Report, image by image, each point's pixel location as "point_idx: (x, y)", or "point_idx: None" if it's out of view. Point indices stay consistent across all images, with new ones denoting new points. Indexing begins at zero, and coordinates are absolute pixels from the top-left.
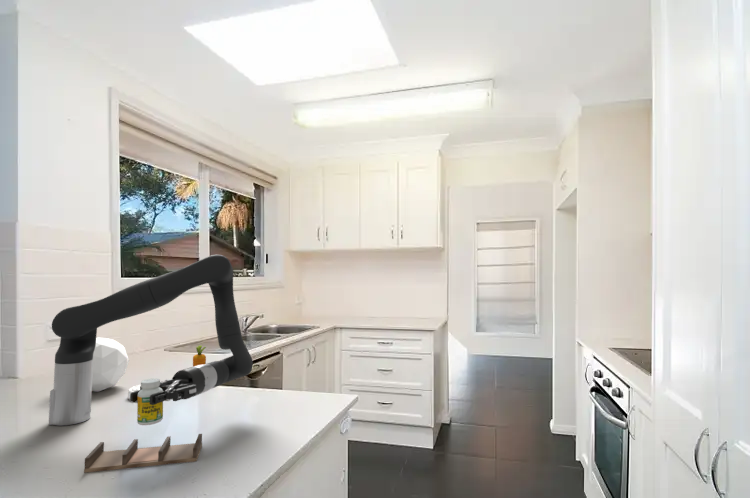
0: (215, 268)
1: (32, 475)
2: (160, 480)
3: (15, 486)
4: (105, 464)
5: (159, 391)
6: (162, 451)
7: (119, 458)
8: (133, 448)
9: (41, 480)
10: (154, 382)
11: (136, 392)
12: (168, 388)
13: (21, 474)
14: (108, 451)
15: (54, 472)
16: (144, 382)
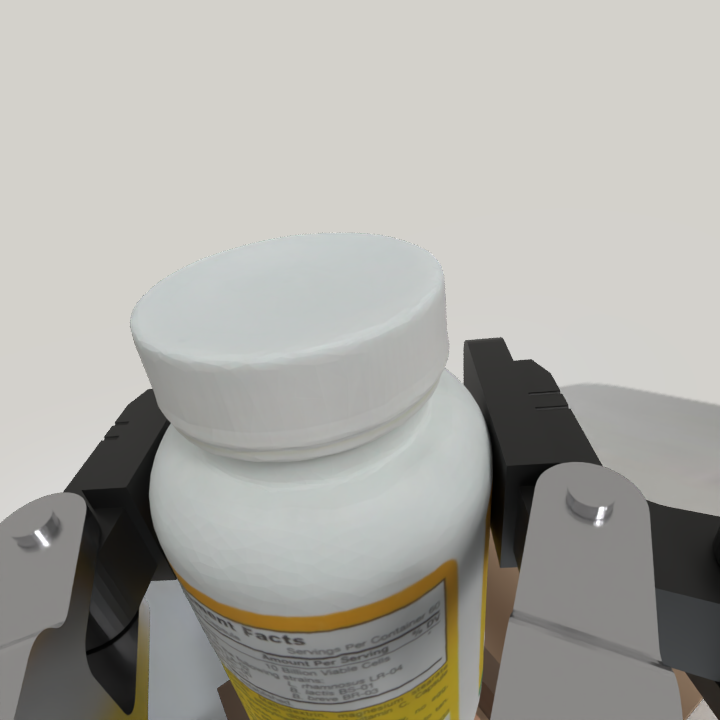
0: None
1: (666, 437)
2: (158, 589)
3: (601, 394)
4: (492, 561)
5: (159, 446)
6: (219, 695)
7: (504, 638)
8: (490, 702)
9: (586, 433)
10: (169, 280)
11: (473, 366)
12: (57, 609)
13: (710, 427)
14: (691, 688)
15: (632, 474)
16: (308, 238)
